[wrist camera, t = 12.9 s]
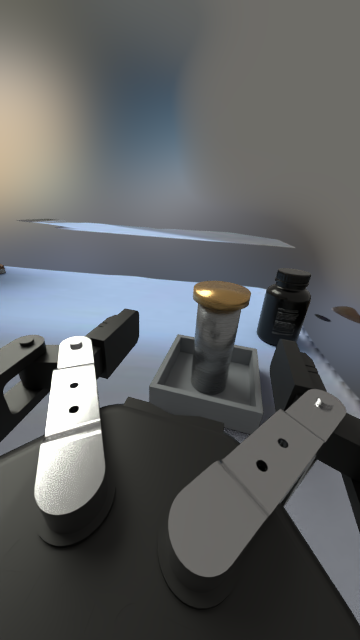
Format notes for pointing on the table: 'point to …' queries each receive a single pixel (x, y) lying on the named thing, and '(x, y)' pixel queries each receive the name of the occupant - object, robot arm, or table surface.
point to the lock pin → (215, 333)
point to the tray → (228, 406)
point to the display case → (2, 269)
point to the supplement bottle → (284, 306)
